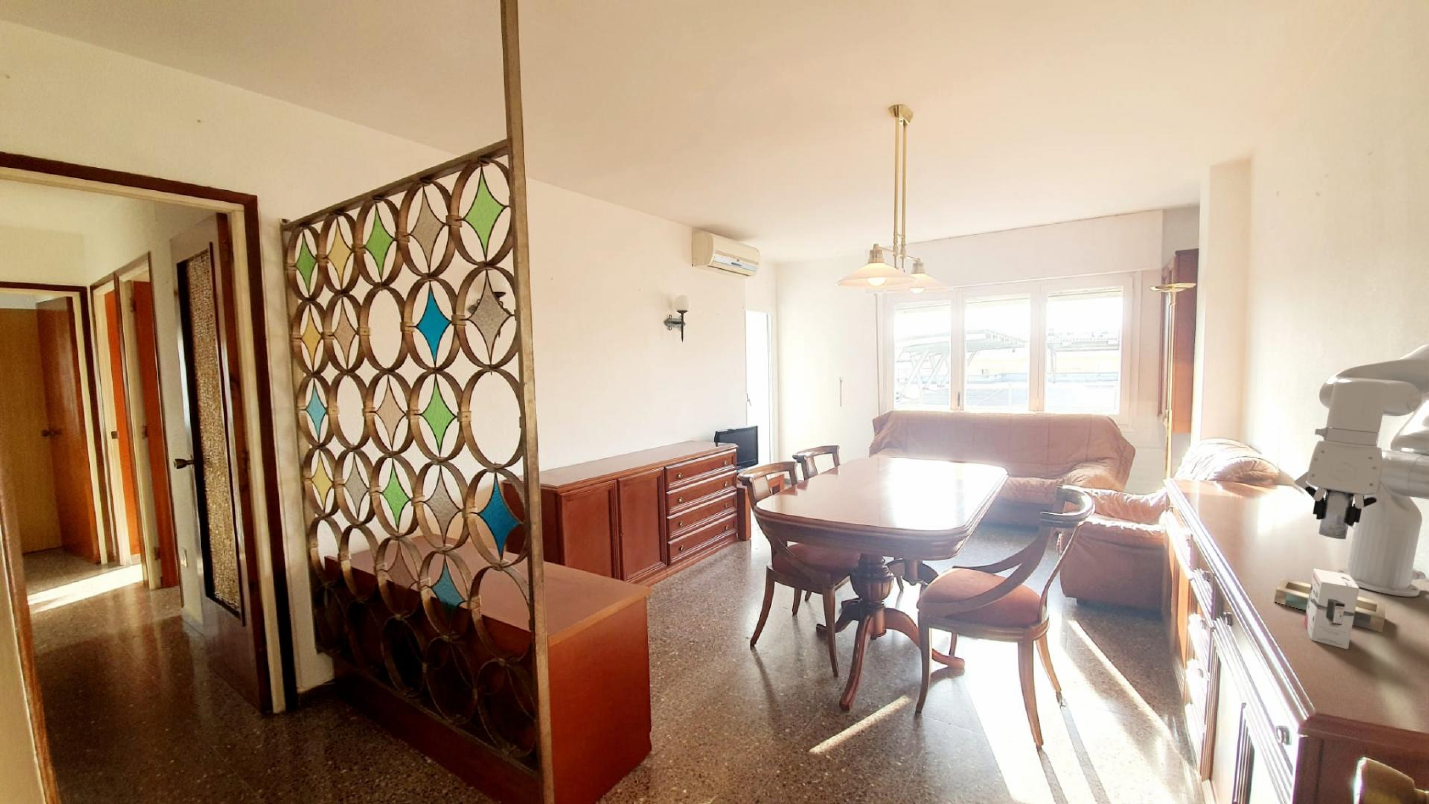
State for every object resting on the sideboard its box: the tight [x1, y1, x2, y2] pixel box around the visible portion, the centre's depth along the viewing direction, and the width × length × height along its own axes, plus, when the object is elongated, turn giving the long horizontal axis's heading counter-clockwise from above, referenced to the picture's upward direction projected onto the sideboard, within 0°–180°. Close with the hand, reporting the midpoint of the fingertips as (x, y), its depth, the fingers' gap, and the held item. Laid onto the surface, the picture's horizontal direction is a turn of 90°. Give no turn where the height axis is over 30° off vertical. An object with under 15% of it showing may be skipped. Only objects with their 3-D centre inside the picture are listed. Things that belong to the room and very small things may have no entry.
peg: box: [1318, 489, 1355, 540], centre depth 120 cm, size 4×4×11 cm
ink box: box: [1303, 567, 1360, 650], centre depth 106 cm, size 9×5×12 cm, turn 141°
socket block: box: [1273, 577, 1387, 633], centre depth 117 cm, size 15×10×3 cm
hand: (1334, 520), depth 121 cm, fingers closed on peg, 4 cm apart
